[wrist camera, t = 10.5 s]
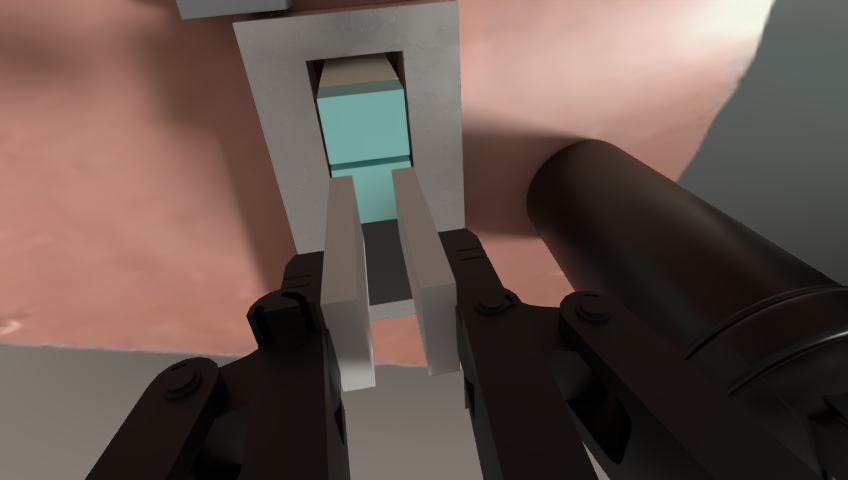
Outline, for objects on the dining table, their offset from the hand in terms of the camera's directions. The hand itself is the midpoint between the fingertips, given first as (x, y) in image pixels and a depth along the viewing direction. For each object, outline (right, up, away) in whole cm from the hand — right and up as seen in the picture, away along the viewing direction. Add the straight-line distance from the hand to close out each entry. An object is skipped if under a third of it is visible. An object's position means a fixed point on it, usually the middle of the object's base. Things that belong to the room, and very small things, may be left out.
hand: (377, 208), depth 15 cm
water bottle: (+14, +3, +18) cm, 23 cm away
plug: (-2, +7, +12) cm, 14 cm away
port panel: (-2, +4, +15) cm, 15 cm away
